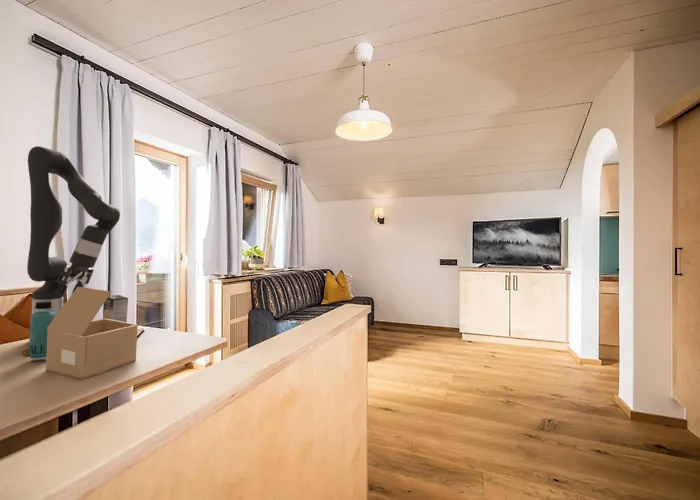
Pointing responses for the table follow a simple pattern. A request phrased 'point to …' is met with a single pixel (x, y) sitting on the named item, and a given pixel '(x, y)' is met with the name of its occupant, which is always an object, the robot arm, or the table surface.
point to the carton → (92, 349)
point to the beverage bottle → (40, 330)
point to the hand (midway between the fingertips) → (67, 294)
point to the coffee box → (115, 308)
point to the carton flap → (79, 311)
